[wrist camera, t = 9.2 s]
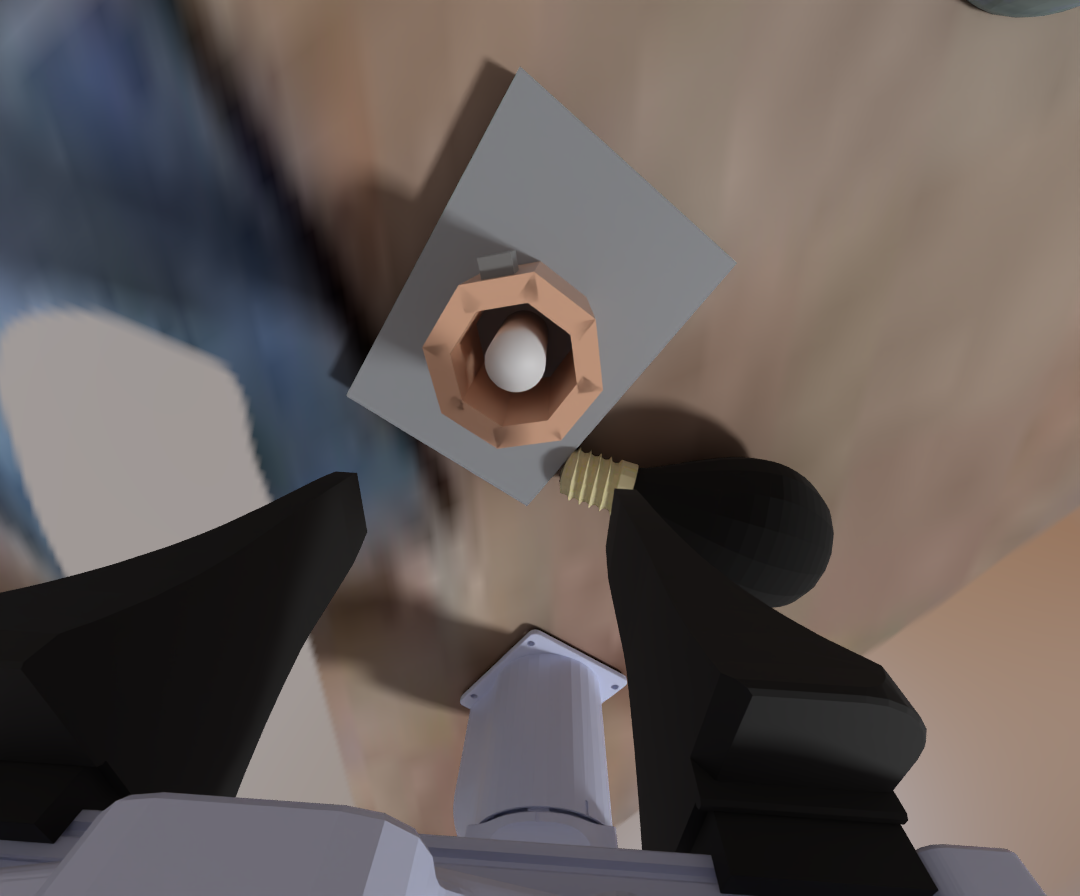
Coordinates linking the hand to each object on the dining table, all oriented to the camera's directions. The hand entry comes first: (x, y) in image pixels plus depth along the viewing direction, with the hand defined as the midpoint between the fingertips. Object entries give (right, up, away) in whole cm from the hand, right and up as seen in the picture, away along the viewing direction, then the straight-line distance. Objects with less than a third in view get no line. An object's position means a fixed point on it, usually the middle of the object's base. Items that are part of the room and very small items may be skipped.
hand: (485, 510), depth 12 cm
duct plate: (+1, +7, +7) cm, 10 cm away
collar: (+1, +6, +6) cm, 9 cm away
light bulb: (+9, 0, +10) cm, 13 cm away
